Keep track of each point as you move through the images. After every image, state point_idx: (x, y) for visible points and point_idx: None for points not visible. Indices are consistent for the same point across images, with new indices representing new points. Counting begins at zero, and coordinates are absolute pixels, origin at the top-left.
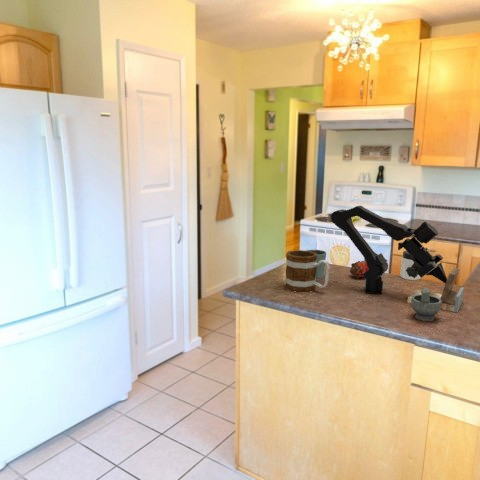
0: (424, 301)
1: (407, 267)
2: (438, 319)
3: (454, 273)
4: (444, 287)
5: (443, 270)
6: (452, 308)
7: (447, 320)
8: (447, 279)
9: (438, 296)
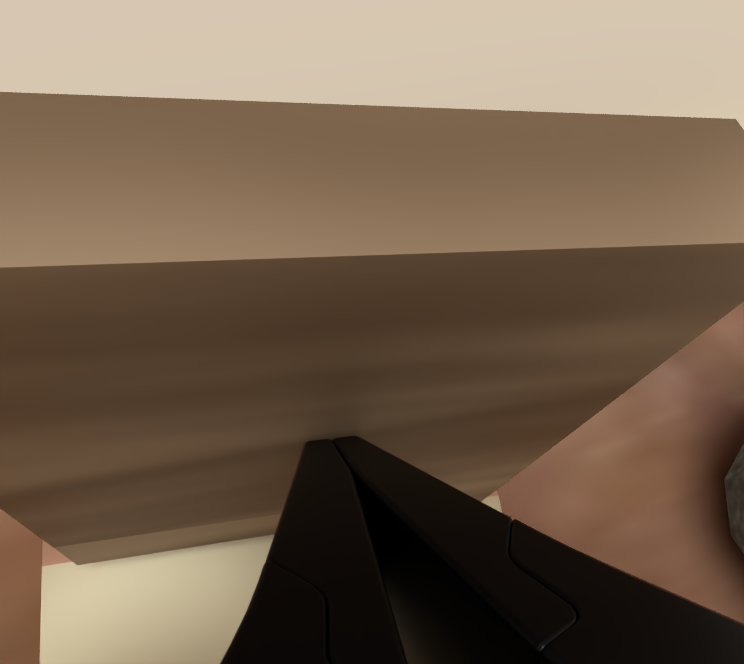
0: None
1: None
2: (732, 406)
3: (627, 142)
4: (572, 427)
5: (348, 604)
6: None
7: (692, 341)
8: (681, 339)
9: (200, 620)
